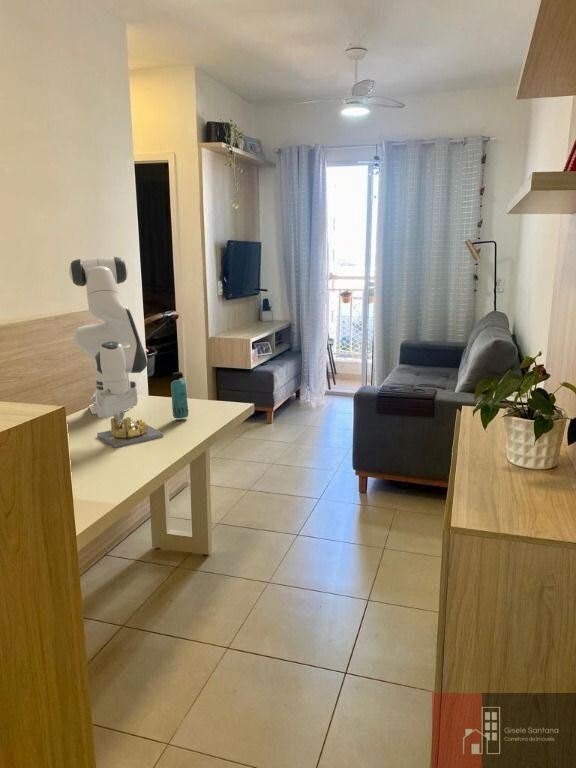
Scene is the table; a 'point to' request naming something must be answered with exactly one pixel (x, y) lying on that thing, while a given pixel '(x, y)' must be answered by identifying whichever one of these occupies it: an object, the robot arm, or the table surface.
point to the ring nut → (128, 428)
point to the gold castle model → (120, 442)
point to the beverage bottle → (179, 397)
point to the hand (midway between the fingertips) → (119, 423)
